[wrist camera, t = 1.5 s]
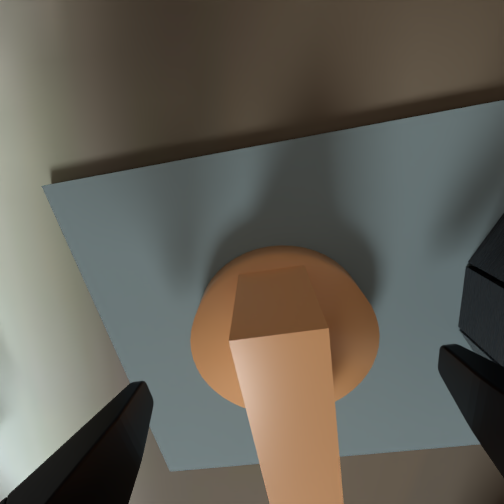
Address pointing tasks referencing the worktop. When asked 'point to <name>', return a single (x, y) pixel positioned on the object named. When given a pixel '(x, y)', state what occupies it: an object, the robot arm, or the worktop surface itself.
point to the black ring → (485, 297)
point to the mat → (301, 235)
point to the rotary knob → (287, 360)
